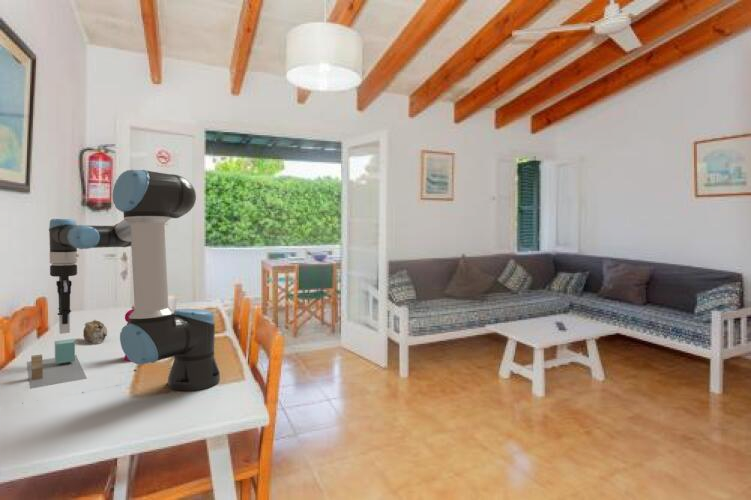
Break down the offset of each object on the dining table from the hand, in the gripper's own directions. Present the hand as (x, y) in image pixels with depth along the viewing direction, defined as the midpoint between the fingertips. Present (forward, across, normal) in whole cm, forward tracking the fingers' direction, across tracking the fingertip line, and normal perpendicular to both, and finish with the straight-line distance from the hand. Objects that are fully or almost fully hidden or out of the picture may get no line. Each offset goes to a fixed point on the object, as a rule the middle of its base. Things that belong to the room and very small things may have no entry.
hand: (64, 332), depth 148 cm
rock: (+12, +30, -13) cm, 34 cm away
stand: (+11, -6, +3) cm, 13 cm away
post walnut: (+11, 0, 0) cm, 11 cm away
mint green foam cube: (+10, 0, 0) cm, 10 cm away
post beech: (+11, -12, +8) cm, 18 cm away
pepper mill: (+12, -7, -20) cm, 24 cm away
